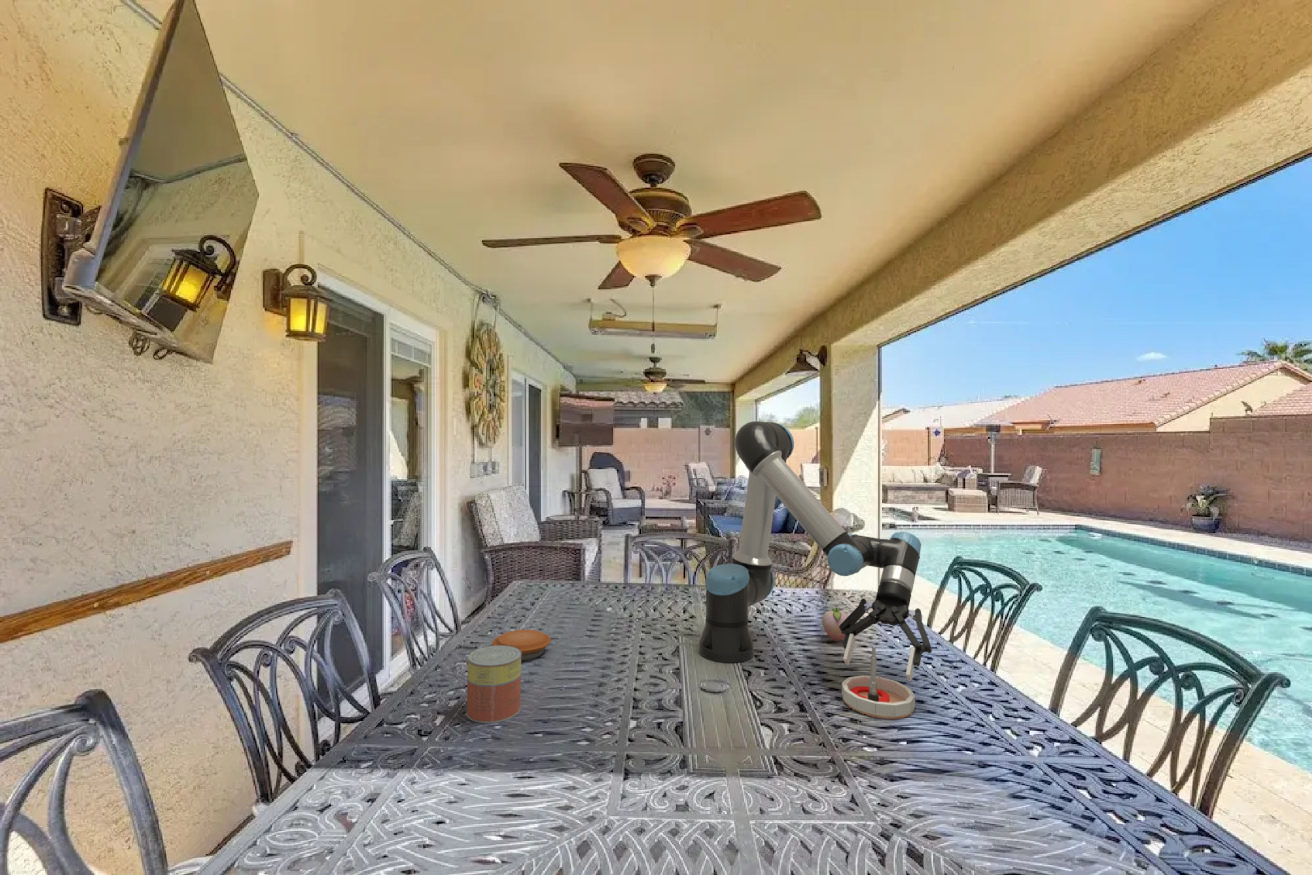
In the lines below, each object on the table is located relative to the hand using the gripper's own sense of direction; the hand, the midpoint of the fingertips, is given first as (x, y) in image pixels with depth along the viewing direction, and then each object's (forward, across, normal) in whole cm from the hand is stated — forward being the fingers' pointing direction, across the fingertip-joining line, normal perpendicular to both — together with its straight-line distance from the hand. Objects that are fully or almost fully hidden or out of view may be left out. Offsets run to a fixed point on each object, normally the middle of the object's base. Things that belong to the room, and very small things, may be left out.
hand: (876, 669), depth 129 cm
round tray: (+5, 0, -7) cm, 8 cm away
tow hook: (+4, +2, -7) cm, 8 cm away
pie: (+27, +86, +14) cm, 91 cm away
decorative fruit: (-19, +21, -31) cm, 42 cm away
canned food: (+44, +65, +32) cm, 85 cm away
